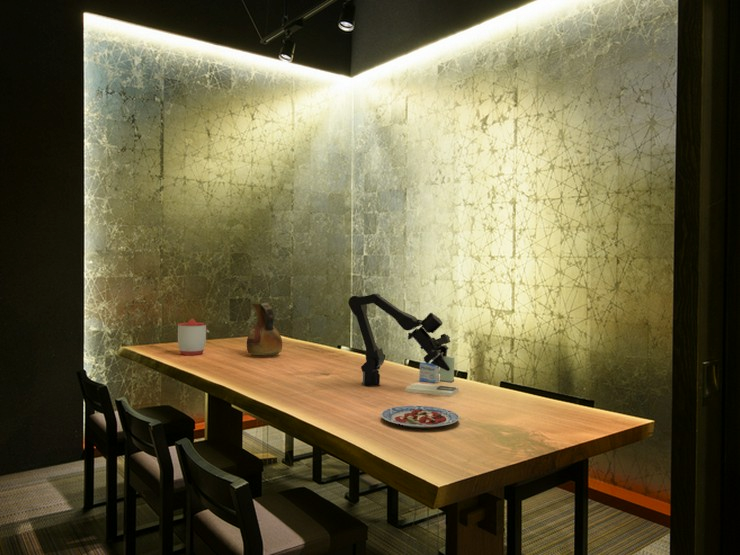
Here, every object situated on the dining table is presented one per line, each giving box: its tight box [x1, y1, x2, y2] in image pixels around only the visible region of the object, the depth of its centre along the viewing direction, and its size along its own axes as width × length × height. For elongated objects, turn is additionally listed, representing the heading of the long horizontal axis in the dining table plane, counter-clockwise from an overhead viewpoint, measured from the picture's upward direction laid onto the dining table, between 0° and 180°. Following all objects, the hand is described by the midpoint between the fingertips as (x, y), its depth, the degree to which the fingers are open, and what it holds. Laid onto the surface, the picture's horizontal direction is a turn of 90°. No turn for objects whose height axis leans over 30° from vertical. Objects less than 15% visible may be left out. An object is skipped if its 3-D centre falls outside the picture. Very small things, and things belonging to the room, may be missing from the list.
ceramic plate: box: [380, 405, 460, 429], centre depth 191 cm, size 26×26×3 cm
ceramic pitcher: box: [246, 302, 283, 356], centre depth 322 cm, size 20×20×30 cm
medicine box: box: [418, 360, 440, 384], centre depth 258 cm, size 8×4×9 cm, turn 62°
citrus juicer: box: [177, 318, 210, 357], centre depth 323 cm, size 16×17×20 cm
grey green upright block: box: [439, 356, 455, 384], centre depth 235 cm, size 5×4×10 cm
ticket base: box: [405, 382, 459, 397], centre depth 238 cm, size 19×12×2 cm, turn 68°
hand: (450, 369), depth 235 cm, fingers closed on grey green upright block, 3 cm apart
